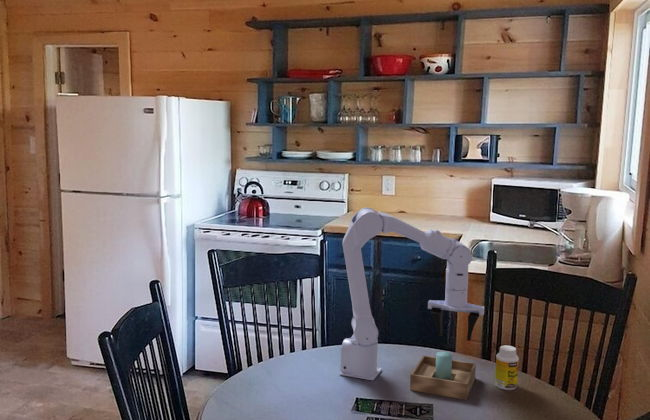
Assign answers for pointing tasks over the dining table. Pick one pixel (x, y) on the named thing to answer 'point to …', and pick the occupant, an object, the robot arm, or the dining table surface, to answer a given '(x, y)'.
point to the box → (455, 388)
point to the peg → (443, 365)
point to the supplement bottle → (506, 368)
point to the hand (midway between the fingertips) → (454, 337)
